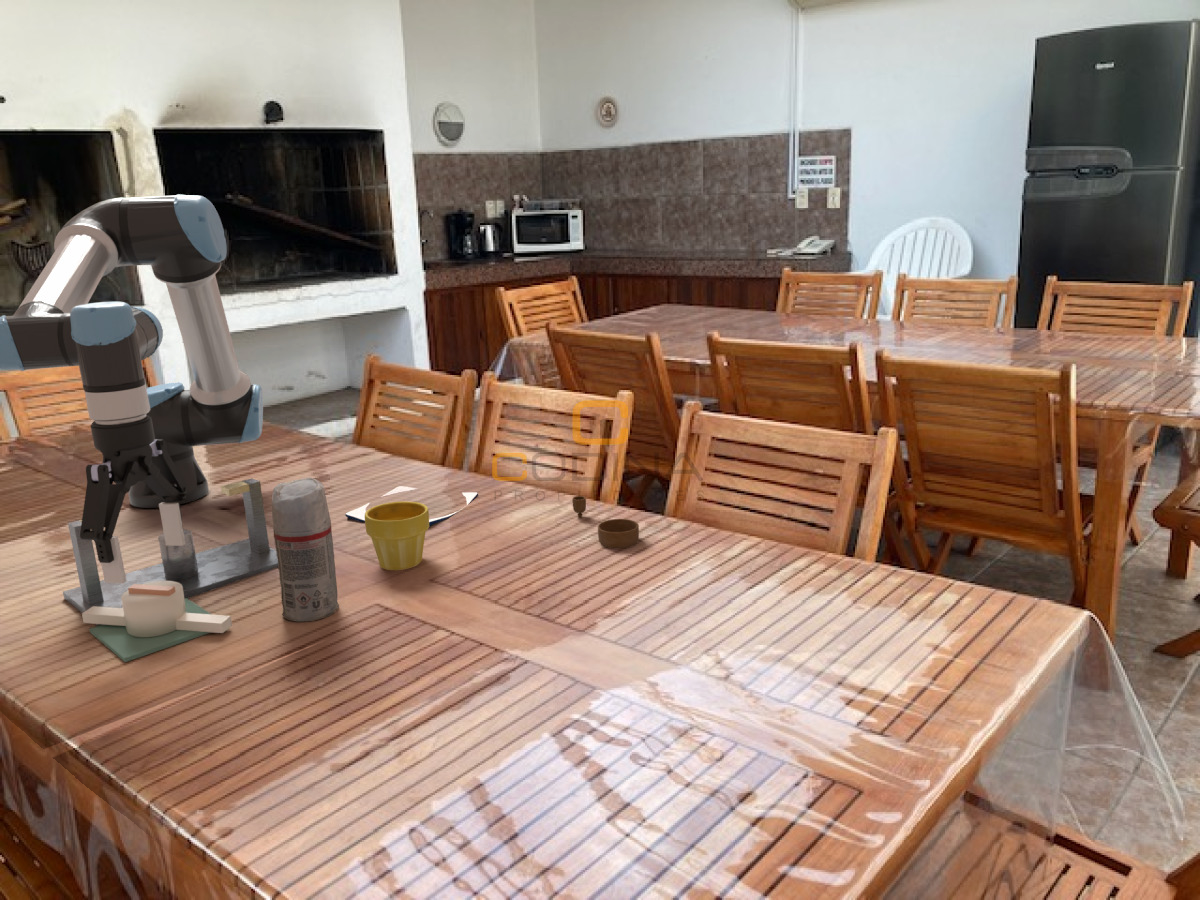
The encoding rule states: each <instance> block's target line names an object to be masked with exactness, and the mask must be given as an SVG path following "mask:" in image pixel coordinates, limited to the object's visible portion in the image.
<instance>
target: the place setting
mask: <svg viewBox="0 0 1200 900" xmlns="http://www.w3.org/2000/svg"><path fill="white" fill-rule="evenodd" d="M572 509H573V511H574V512H575V513H576V514H577V518H582V517H583V513H584V512H585V511H586V510H587V499H586V496H583V495H577V496H573V497H572ZM639 527H640V526H639V523H638V522H637V521H635V520H632V519H626V518H615V519H614V518H613V519H607V520H604V521H602V522H600V523H599V524H598V525H597V535H598V536H597V537H598V538H597V539H598V542H599V544H600V545H601V546H602V547H604V548H607V549H608V548H609V549H614V550H615V549H617V550H619V549H627V548H631V547H633V546H635V545H636V544H637V543H638V542H639V540H640V539H639V537H640V528H639Z"/></svg>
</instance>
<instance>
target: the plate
mask: <svg viewBox="0 0 1200 900" xmlns="http://www.w3.org/2000/svg"><path fill="white" fill-rule="evenodd" d="M414 490H418V488H416V487H410V486H405V485H403V486H402V485H399V486H397V487H394V489H393V488H392V490H390V491H388V492H386V493H384V494H383V495H381V496H380V498H381V497H386V496H389V495H395V494H397V493H398V494H399V493H401V492H409V491H414ZM461 493H462V495H463V497H465V500H466V506H468V505H469V504H471V503H472V502H473V501H474V500H475V499H476V498H477V497H478V495H479V494H478V492H461ZM369 504H370V502H367V503H366V504H364V505H362V506H360V507H356V508H355V509H352V510H350V511H348V512H346V513H345V514H344V516H345V517H347V518H348V519H349V520H352V521H356V522H357V521H358V522H361V523H364V524H365V512H366V511H367V510H366V509H367V507H368V506H369ZM463 509H464V507H462V508H461V509H459V510H457V511H455V512H453V513H450V514H447V515H443V516H440V517H435V518H431V519H430V518H429V527H431V526H433V525H436V524H439V523H440V522H443V521H444V520H447V519H449V518H451V517H452V516H454V515H456V514H457V513H459V512H460V511H461V510H463Z"/></svg>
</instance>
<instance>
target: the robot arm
mask: <svg viewBox="0 0 1200 900" xmlns="http://www.w3.org/2000/svg"><path fill="white" fill-rule="evenodd" d="M53 247H54V249H53V250H54V252H53V254H52V255H51V257H50V259H49V260H48V262H47V263H46V265H45V266H44V268H43V269H42V271H41V272H40V274H39V275H38V277H37V278H36V280H35V281H34V283H33V284H32V286H31V288H30V290H29V291H28V292H27V294H26V295H25V297H24V299H23V300H22V302H21V304H20V305H19V306H18V307H17V310H16V311H15V312H14V314H13V315H5V314H4V315H1V316H0V371H22V372H25V371H26V370H37V369H41V370H42V369H52V368H53V369H54V368H63V367H79V372H80V373H79V374H80V377H81V382H82V388H83V391H84V395H85V400H86V401H85V402H86V407H87V414H88V418H89V419H90V420H92V423H91V424H90V431H91V435H92V442H93V446H94V448H95V449H96V450H98V451H99V452H100V453H101V455H102V463H99V464H87V465H86V467H85V474H86V489H85V494H84V495H85V496H84V503H83V510H82V517H81V520H82V524H81V531H80V538H81V539H82V540H92V541H93V542H94V546H95V550H96V555H97V560H98V561H99V563H101V570H102V575H103V580H105V583H122V584H123V583H125V582H126V576H125V574H126V572H125V567H124V561H123V556H122V552H121V546H120V541H119V536H114V533H115V529H116V526H117V523H118V520H119V517H120V513H121V511H122V506H123V502H124V499H125V497H126V494H128V498H129V504H130V505H131V506H132V507H134V508H135V507H136V508H145V509H150V508H153V509H155V508H157V509H158V508H159V513H160V514H159V515H160V518H161V525H162V529H163V534H164V537H165V542H166V545H173V546H183V545H185V538H184V533H183V530H184V528H183V523H182V521H183V519H182V518H183V517H182V510H181V505H183V504H187V503H191V502H194V501H197V500H199V499H201V498H203V497H205V496H207V495H208V494H209V492H210V489H209V483H208V482H209V481H208V479H207V477H206V476H205V474H204V472H203V471H202V469H201V467H200V464H199V463H198V461H197V460H196V457H195V451H194V447H200V446H202V447H203V446H213V445H224V444H225V445H226V444H241V443H247V442H252V441H257V440H258V439H259V438H260V436H261V435H262V431H263V422H264V421H263V419H264V414H263V413H264V403H263V402H264V401H263V399H264V397H263V396H264V395H263V389H262V387H261V386H260V384H256V383H253V384H252V382H251V379H250V376H248V374H246V373H245V372H244V371H242V370H241V369H240V368H239V364H238V360H237V354H236V352H235V351H236V350H235V348H234V343H233V340H232V339H233V338H232V335H231V332H230V331H231V330H230V328H229V325H228V320H227V317H226V312H225V308H224V305H223V301H222V296H221V292H220V290H219V289H220V288H219V285H218V280H217V276H216V274H217V273H218V272H219V271H220V269H221V267H222V261H224V260H226V257H227V253H228V251H227V250H228V249H227V248H228V245H227V239H226V237H225V230H224V227H223V224H222V220H221V217H220V215H219V213H218V211H217V210H216V208H215V205H213V203H212V202H211V201H210V199H208V198H206V197H204V196H203V195H194V194H193V195H189V194H188V195H186V194H183V193H182V194H181V193H180V194H179V193H178V194H176V195H161V196H160V195H158V196H157V195H156V196H155V195H154V196H138V197H137V196H135V197H134V196H133V197H124V196H123V197H114V198H109V199H106V200H103V201H99V202H97V203H94V204H93V205H90V206H89V207H87V208H85V209H83V210H81V211H80V212H79V213H77V214H76V215H74V216H73V217H71V218H70V219H69V220H68V221H67V222H66V223H65V224H64V225H63V226H62V228H61V229H59V232H58V233H57V235H56V236H55V239H54V243H53ZM129 266H150V267H151V269H152V272H153V275H154V277H155V278H156V279H157V280H158V281H160V282H162V283H165V284H166V287H167V288H166V289H167V292H168V294H169V298H170V300H171V305H172V308H173V312H174V315H175V319H176V322H177V324H178V329H179V331H180V335H181V338H182V341H183V346H184V349H185V352H186V355H187V359H188V362H189V366H190V368H191V373H192V376H193V379H194V380H193V381H192V383H190V387H189V389H185V386H184V385H183V383H182V382H169V383H164V384H163V383H162V384H157V385H154V386H149V387H147V385H146V380H145V375H144V367H143V363H142V361H143V360H144V361H145V360H146V359H147V358H150V356H153V354H155V352H156V351H157V349H158V348H159V347H160V346H161V344H162V342H163V341H162V340H163V337H164V329H163V326H162V323H161V321H160V320H159V318H158V317H157V316H156V315H155V314H154V313H152V312H151V311H149V310H148V309H146V308H143V307H140V306H139V307H138V306H132V305H130V304H129V303H127V302H124V301H100V302H91V303H89V302H90V300H91V299H92V296H93V294H94V293H95V291H96V289H97V286H98V285H99V283H100V282H101V280H102V278H103V277H105V276H107V275H109V274H110V273H111V272H112V271H113V270H114V269H115V268H119V267H129ZM104 527H105V528H104ZM90 529H92V530H90Z"/></svg>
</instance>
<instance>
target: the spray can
mask: <svg viewBox="0 0 1200 900" xmlns="http://www.w3.org/2000/svg"><path fill="white" fill-rule="evenodd" d="M271 496H272V497H271V498H272V499H271V515H272V516H271V517H272V526H273V529H272V530H273V531H272V532H273V540H274V545H275V546H274V547H275V550H276V555H277V559H278V567H277V568H278V573H279V582H280V583H279V584H280V594H281V595H280V596H281V597H280V598H281V605H282V614H281V615H282V617H283V618H285V619H287V620H288V621H291V622H313V621H318V620H321V619H324V618H327V617H330V616H332V615H333V614H335V613H336V612H337V611H338V609H339V607H340V605H339V602H338V598H339V597H338V583H337V582H338V581H337V577H336V576H337V574H336V573H337V572H336V562H335V561H336V560H335V553H334V552H335V551H334V540H333V534H332V532H333V531H332V520H331V515H330V511H329V506H328V502H327V496H326V490H325V487H324V484H323V483H322V482H321V481H320V480H318V479H316V478H313V477H311V476H310V477H309V476H308V477H305V478H301V479H293V480H292V481H288V482H285V481H284V482H281V483H278V484H277V485H276V486H275V487H274V488H273V490H272V495H271Z"/></svg>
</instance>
